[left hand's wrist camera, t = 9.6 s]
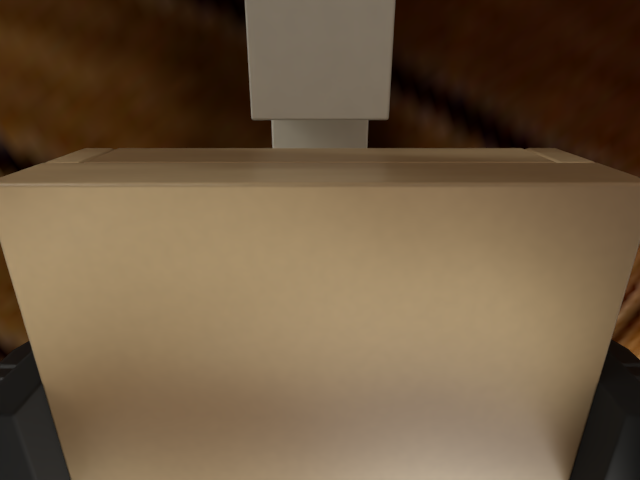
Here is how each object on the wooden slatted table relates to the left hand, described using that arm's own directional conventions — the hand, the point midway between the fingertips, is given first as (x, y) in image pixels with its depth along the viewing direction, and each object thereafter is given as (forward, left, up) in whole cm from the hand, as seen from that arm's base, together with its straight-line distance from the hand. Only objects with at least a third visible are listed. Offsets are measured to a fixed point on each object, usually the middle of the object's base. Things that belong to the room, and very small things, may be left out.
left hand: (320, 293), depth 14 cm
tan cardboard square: (0, 0, +3) cm, 3 cm away
